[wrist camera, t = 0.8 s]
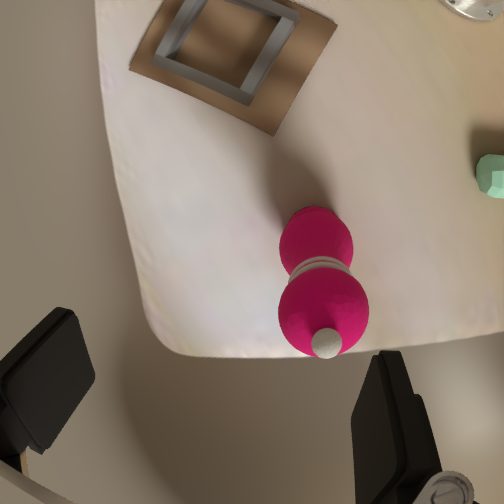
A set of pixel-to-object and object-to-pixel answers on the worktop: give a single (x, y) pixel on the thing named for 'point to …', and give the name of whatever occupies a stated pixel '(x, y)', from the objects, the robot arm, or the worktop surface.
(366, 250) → the worktop surface
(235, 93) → the socket board
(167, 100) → the worktop surface
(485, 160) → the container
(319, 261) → the pepper mill
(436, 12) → the worktop surface
